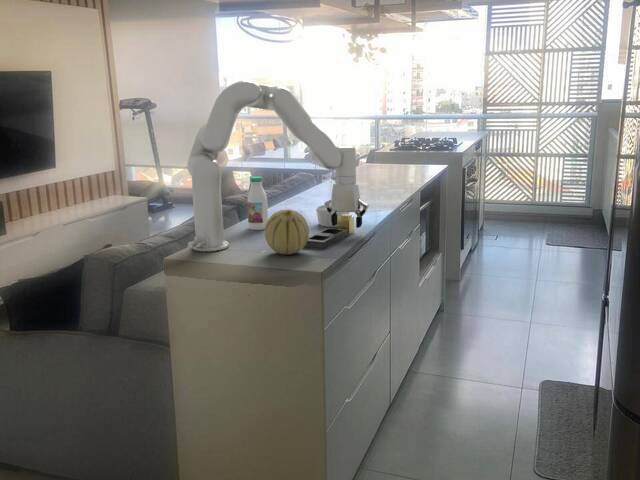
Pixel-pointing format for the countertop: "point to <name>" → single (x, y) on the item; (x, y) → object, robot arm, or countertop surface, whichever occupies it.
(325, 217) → the ramekin
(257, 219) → the milk bottle
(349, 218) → the yellow rectangular block
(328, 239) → the grey board with holes
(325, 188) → the countertop surface
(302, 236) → the cantaloupe
